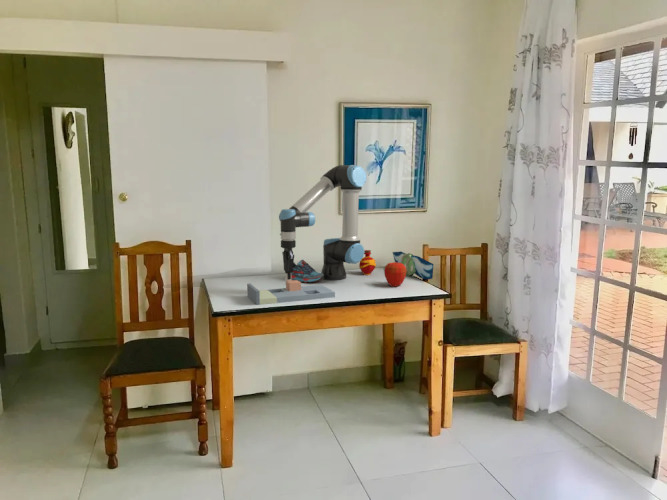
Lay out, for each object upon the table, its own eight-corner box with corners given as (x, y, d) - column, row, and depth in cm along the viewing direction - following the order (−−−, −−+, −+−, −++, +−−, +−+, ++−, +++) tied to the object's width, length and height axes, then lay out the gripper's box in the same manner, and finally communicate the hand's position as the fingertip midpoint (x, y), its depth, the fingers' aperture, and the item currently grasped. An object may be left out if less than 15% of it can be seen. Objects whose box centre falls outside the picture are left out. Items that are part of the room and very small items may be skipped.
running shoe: (318, 285, 293) (318, 263, 291) (280, 280, 305) (279, 259, 303) (327, 282, 301) (327, 261, 299) (290, 277, 313) (289, 257, 312)
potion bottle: (361, 277, 314) (361, 252, 311) (357, 273, 324) (357, 249, 321) (378, 276, 316) (378, 251, 313) (373, 273, 326) (374, 249, 323)
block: (297, 287, 275) (297, 280, 275) (301, 290, 270) (301, 282, 269) (286, 288, 273) (286, 281, 272) (289, 291, 268) (289, 283, 267)
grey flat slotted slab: (321, 289, 283) (321, 277, 282) (334, 297, 266) (335, 284, 265) (247, 296, 267) (247, 283, 266) (256, 304, 251) (256, 291, 250)
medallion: (387, 270, 337) (387, 248, 335) (393, 269, 339) (394, 248, 337) (427, 284, 296) (428, 260, 294) (434, 283, 298) (435, 259, 296)
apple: (405, 289, 284) (405, 263, 282) (382, 288, 286) (383, 262, 284) (406, 284, 296) (407, 259, 294) (385, 283, 298) (385, 258, 296)
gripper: (277, 238, 275) (277, 283, 279) (284, 241, 263) (285, 288, 267) (291, 237, 278) (291, 282, 281) (299, 241, 266) (299, 287, 270)
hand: (288, 285), depth 274 cm, fingers closed
